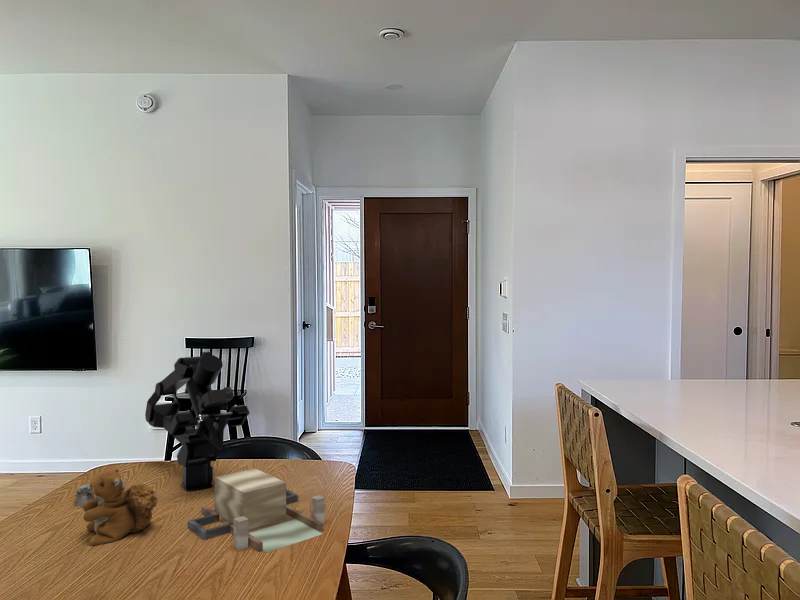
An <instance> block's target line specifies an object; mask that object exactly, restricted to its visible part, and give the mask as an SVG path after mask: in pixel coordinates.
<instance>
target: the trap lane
mask: <svg viewBox="0 0 800 600" xmlns="http://www.w3.org/2000/svg"><path fill="white" fill-rule="evenodd" d="M297 502H299V494H298V493H295V492H293V491H291V490H289V489H287V488H286V519H284V520H280V521H277V522H274V523H270V524H267V525H264V526H260V527H257V528H253V529H250V530H248V519H247V518H246V517H244V516H242V517H239V518H235V519H234V524H233V523H230V522H229V521H227V520H226V519H224V518H223V517H221V516H220V515H219V514H218V513H216V512H215V509H212V508H210V507H208V506H207V505H202V506H201V508H200V513H201V515H202V516H201V517H198V518H193V519H189V520H187V529H188V530H190V531H191V532H192V533H194V535H196V536H198V537H199V538H200V539H202V540H203V541H205V540H209V539H212V538H216V537H219V536H222V535H226V534H231V535H232V536H233V548H234V549H235V550H237V551H241V550H245V549H247V548H249V547H250V548H252V549H253V550H255V551H256V552H259V553H260V552H261V551H262V552H264V553H266V554H268V553H271V552H274V551H276V550H280V549H282V548H286V547H289V546H291V545H295V544H297V543H301V542H303V541H306V540H309V539H312V538H316V537H319V536H321V535H323V531H324V524H325V505H326V504H325V496H322V495H320V494H318V495H316V496H311V514H310V515H311V516H310V515H308V514H306V513H305V512H302V511H300V510H298V509H296V508H294V507H292V506H290V504H294V503H297ZM218 522H219V523H221V524H222V525H221V524H220V525H219V526H213V527H211V528H207V529H206V528H205V527H204V526H207V525H211V524H214V523H218Z"/></svg>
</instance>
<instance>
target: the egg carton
mask: <svg viewBox="0 0 800 600" xmlns="http://www.w3.org/2000/svg"><path fill="white" fill-rule="evenodd" d="M121 479H122V483H123V489H124V490H125V491H126V487H125V486H126V485H125V484H126V482H125V479H124V478H121ZM90 484H91V483H86V484H83V485H81V486H80V487H78V488H77V489H76V492H75V493H76V494H75V496H74V497H75V498H76V506H78V507H79V506H81V507H83V504H84V503H85V502H86V501H87V500H92V499H95V498H96V499H98V497H95V498H94V496H93V495H92V493H89V492H90Z"/></svg>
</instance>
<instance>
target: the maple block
mask: <svg viewBox="0 0 800 600" xmlns="http://www.w3.org/2000/svg"><path fill="white" fill-rule="evenodd" d="M286 489H287V482H286V481H284V480H281V479H279V478H277V477H276V476H273V475H271V474H269V473H266V472H265V471H262V470H260V469H258V468H255V467H254V468H250V469H245V470H241V471H237V472H236V471H235V472H232V473H228V474H222V475H219V476H218V475H217V476H214V510H215V512H216V513H218V514H219V515H220V516H221V517H223V518H224V519H226V520H227V521H229V522H230V523H233V524H234V519H235V518H239V517H242V516H244V517H246V518H247V519H248V530H250V529H253V528H257V527H260V526H264V525H267V524H270V523H274V522H277V521H280V520H284V519H286Z"/></svg>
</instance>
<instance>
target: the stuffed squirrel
mask: <svg viewBox="0 0 800 600" xmlns="http://www.w3.org/2000/svg"><path fill="white" fill-rule="evenodd" d="M119 472H120V471H119V468H113V469H112V470H107V471H104V472H102V473H101V474H99V475H98V476H96V477H95V478H94V479H92V480H91V482H90V483H89V484H90V492H89V493H92V495H93V496H94V498H95V497H98V499H96V498H95V499H92V500H87V501H86V502H85V503H84V504H83V506H82V509H83V511H84V514H83V520H84V521H85V522H87V524H86V529H87V530H88V531H91V532H95V533H96V534H94V535H93V536H92V537H91V538H90V540H89V545H91V546H100V545H104V544H109V543H112V542H113V543H114V542H116V541H118V540H120V539H121V538H124V537H125V536H126V535H127V534H128V533H130V534H131V533H132V534H133V533H137V532H140V531H143V530H144V529H145V528H146V526H148V525H150V522H151V521H152V518H153V512H152V511H153V510H154V508H155V507H156V506H157V504H158V501H159V500H158V494H157V492H156V491H155V490H153V489H152V488H151V487H150V486H149V485H148V484H145V483H138V484H132V485H131V486H130V487H129V488H127V489H125V490H124V489H123V483H122V479H123V478H122V477H121V475H120V473H119Z"/></svg>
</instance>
